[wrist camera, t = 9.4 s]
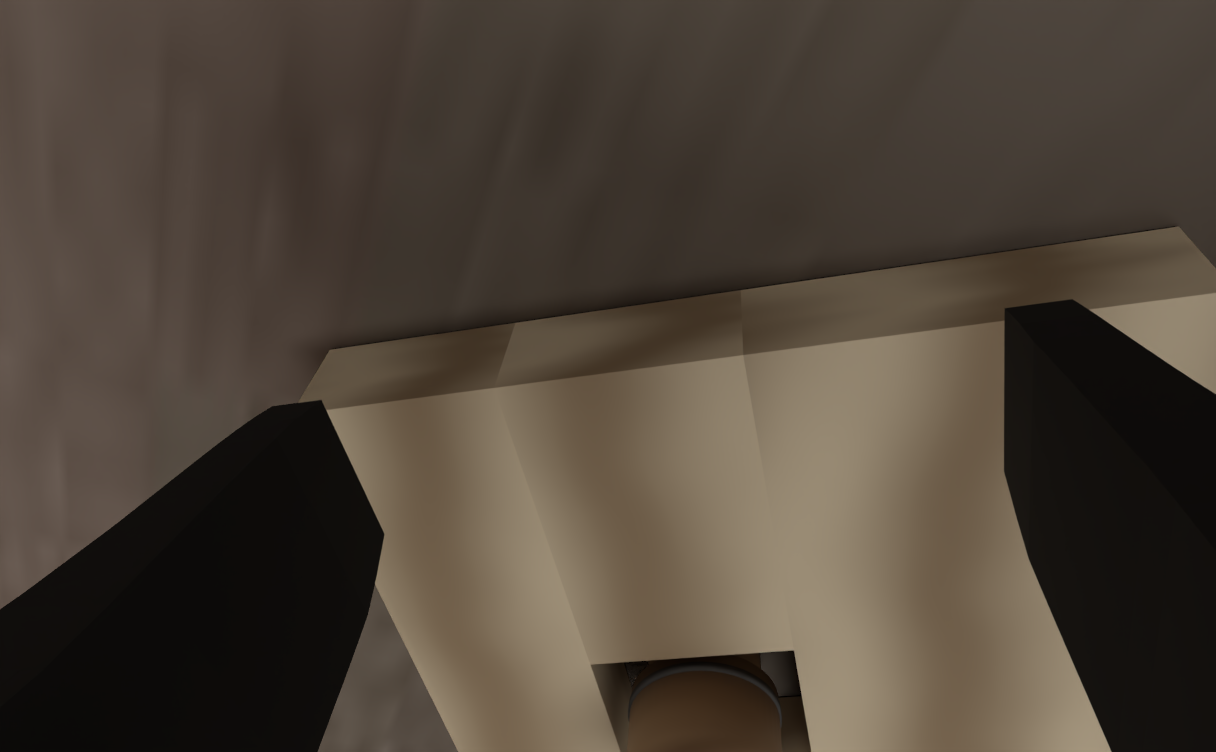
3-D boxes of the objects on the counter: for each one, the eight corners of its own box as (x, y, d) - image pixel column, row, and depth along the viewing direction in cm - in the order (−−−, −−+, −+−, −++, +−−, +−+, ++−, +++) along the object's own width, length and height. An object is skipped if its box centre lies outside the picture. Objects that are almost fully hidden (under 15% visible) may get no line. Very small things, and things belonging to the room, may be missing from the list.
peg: (766, 583, 25) (784, 838, 20) (783, 680, 27) (803, 936, 22) (621, 596, 26) (597, 845, 20) (648, 689, 28) (633, 939, 22)
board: (1179, 226, 19) (1234, 290, 17) (1117, 775, 28) (1148, 857, 26) (330, 349, 22) (290, 414, 20) (532, 799, 32) (519, 874, 30)
